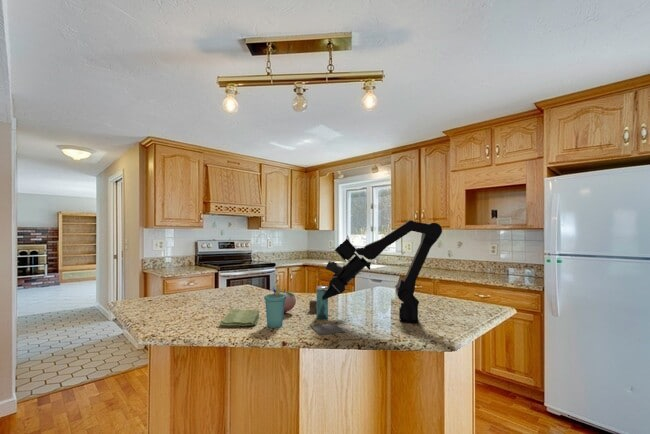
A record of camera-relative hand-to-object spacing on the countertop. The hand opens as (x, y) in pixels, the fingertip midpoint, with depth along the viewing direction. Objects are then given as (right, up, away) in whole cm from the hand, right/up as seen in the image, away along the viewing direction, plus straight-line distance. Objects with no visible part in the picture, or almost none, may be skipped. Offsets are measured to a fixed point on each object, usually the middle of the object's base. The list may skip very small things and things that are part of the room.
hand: (323, 296), depth 128 cm
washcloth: (-31, -9, -5) cm, 33 cm away
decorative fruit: (-16, -9, +6) cm, 20 cm away
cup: (-17, -8, -12) cm, 23 cm away
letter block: (-4, -9, +11) cm, 15 cm away
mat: (+1, -8, -15) cm, 17 cm away
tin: (-1, -8, 0) cm, 8 cm away
